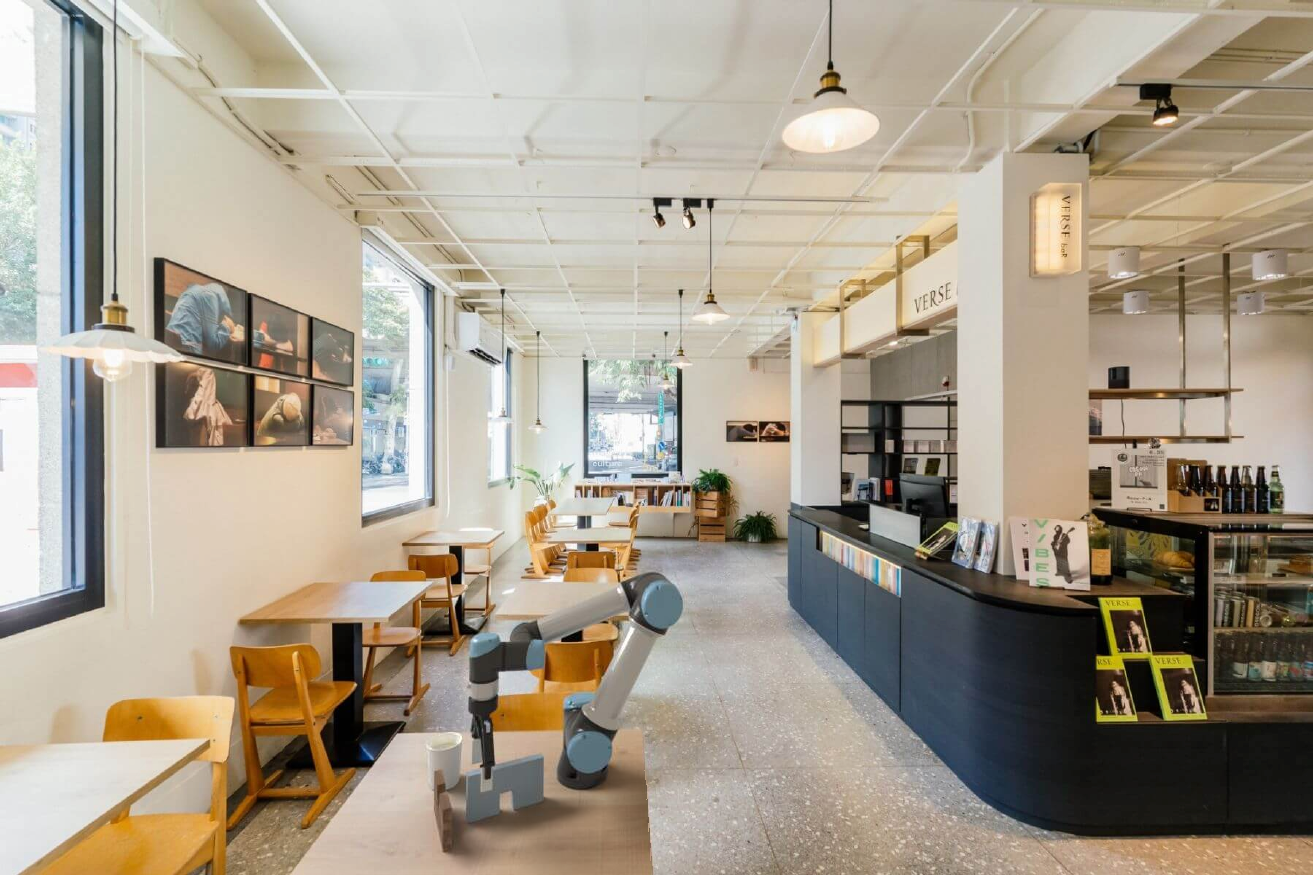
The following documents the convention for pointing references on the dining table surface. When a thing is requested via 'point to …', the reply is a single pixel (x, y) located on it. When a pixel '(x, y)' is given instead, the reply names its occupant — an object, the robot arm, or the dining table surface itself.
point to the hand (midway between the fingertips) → (481, 775)
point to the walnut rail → (442, 810)
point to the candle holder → (444, 757)
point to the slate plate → (505, 787)
